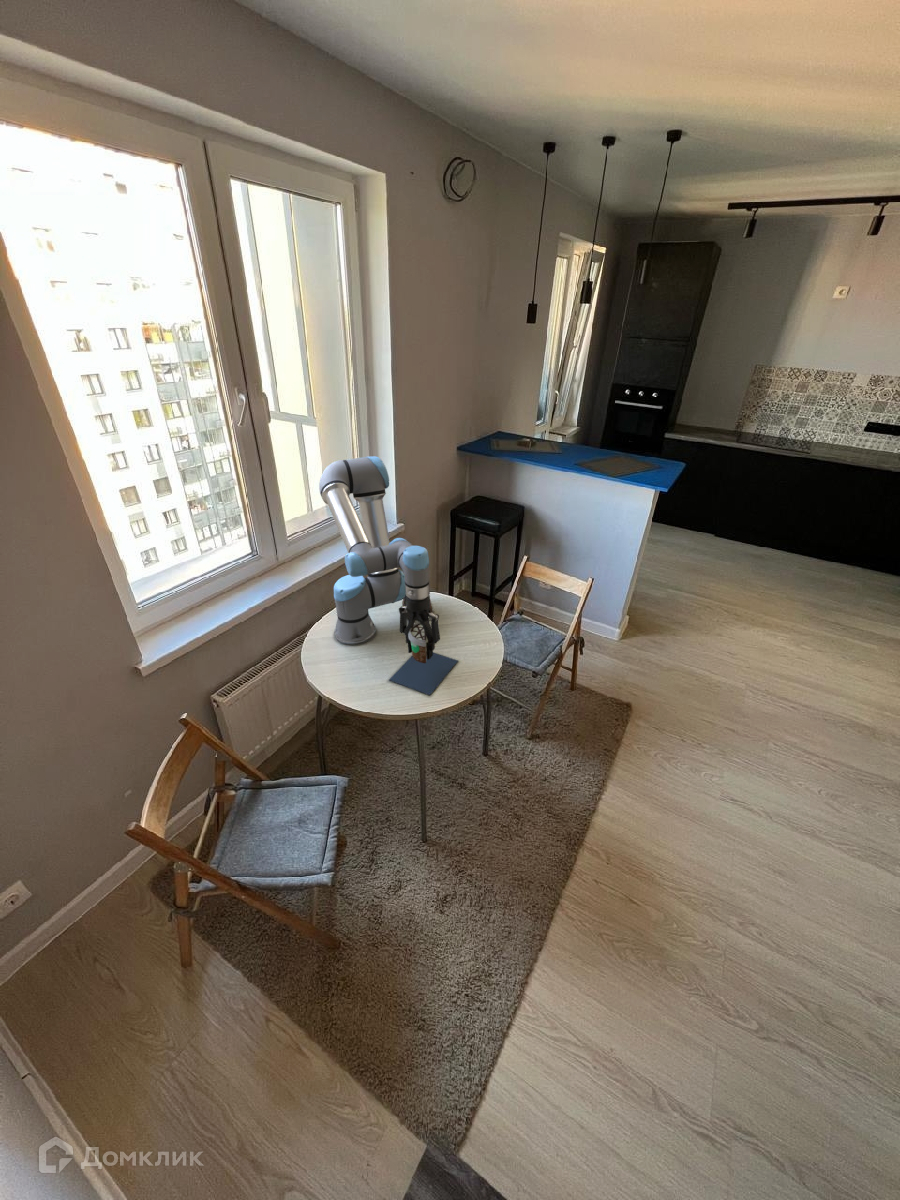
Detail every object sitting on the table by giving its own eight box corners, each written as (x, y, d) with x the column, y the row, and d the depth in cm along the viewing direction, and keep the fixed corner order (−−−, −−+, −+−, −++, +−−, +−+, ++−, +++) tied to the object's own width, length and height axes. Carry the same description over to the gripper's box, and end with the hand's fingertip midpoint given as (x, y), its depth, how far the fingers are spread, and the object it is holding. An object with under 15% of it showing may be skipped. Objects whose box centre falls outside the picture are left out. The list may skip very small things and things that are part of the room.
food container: (410, 642, 170) (410, 618, 165) (428, 643, 170) (428, 619, 165) (406, 665, 160) (406, 640, 154) (425, 666, 160) (425, 641, 154)
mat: (389, 680, 166) (389, 679, 166) (419, 648, 181) (419, 647, 181) (430, 695, 160) (430, 694, 160) (458, 661, 175) (458, 660, 175)
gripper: (384, 593, 153) (389, 651, 165) (439, 608, 146) (440, 668, 158) (397, 582, 159) (402, 640, 171) (451, 596, 151) (451, 656, 163)
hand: (420, 653), depth 164 cm, fingers closed on food container, 7 cm apart
